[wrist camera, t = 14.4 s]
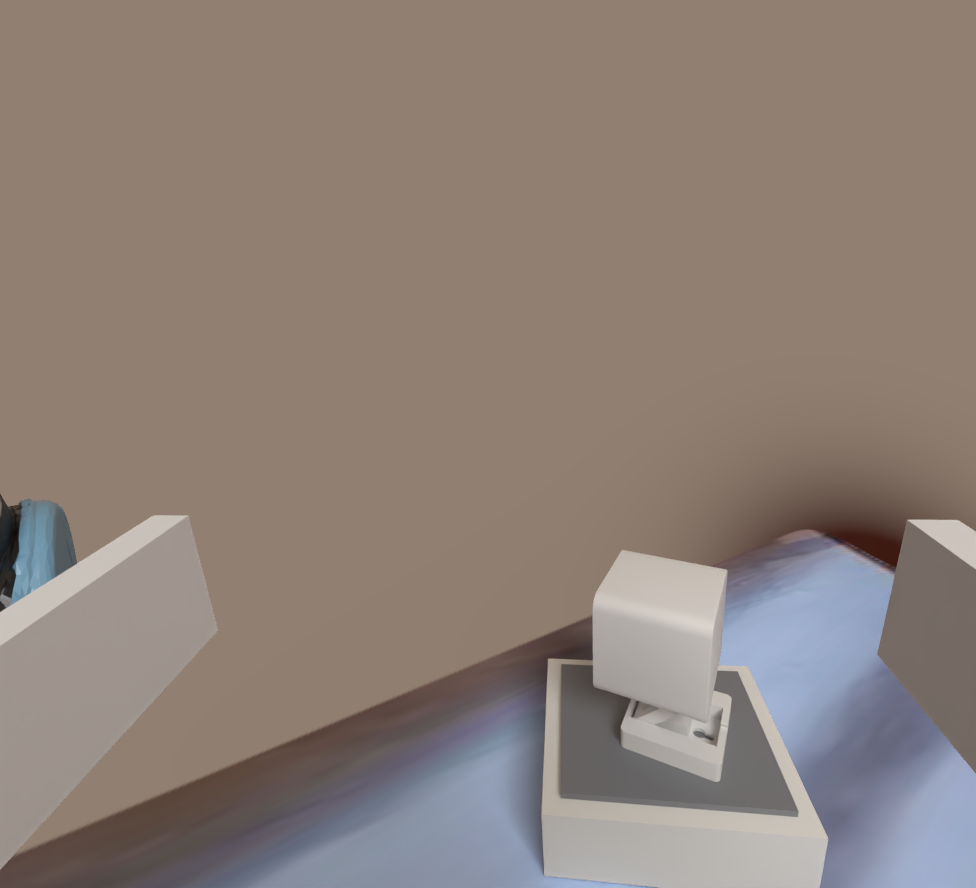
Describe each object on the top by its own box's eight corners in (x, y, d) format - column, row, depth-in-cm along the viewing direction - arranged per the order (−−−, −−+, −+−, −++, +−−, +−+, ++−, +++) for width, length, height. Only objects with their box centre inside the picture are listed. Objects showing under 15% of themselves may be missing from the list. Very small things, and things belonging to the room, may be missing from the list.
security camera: (621, 673, 37) (623, 545, 34) (731, 707, 33) (744, 567, 30) (592, 742, 32) (590, 597, 29) (718, 790, 28) (732, 632, 25)
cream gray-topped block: (544, 875, 29) (541, 808, 28) (550, 708, 41) (547, 654, 39) (816, 903, 27) (829, 832, 26) (742, 718, 38) (748, 661, 37)
